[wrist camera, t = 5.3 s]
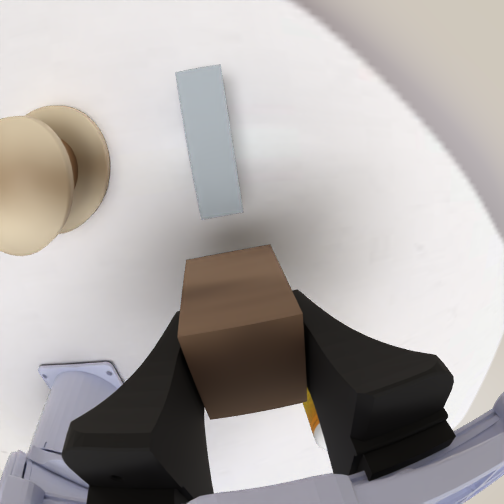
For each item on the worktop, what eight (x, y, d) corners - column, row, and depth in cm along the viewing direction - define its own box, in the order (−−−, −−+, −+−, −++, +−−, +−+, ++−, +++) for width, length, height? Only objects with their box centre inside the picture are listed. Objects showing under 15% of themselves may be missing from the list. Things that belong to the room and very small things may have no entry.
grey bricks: (263, 356, 24) (272, 393, 20) (237, 361, 24) (243, 399, 20) (218, 76, 16) (220, 64, 12) (182, 82, 15) (175, 72, 12)
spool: (123, 215, 18) (97, 249, 13) (25, 240, 18) (-14, 275, 13) (97, 88, 15) (58, 80, 10) (-3, 130, 14) (-52, 141, 10)
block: (279, 321, 15) (307, 401, 10) (207, 335, 15) (210, 419, 10) (270, 244, 13) (302, 313, 9) (186, 260, 13) (177, 336, 8)
